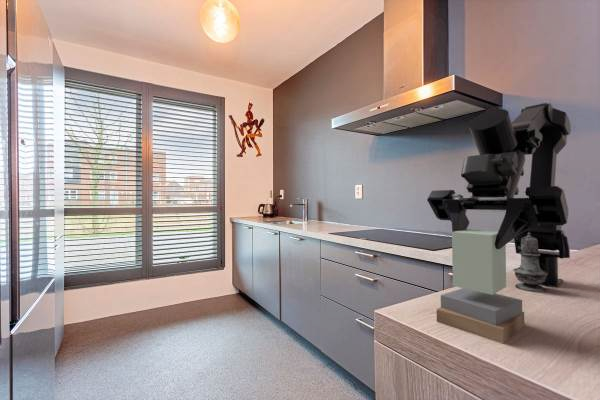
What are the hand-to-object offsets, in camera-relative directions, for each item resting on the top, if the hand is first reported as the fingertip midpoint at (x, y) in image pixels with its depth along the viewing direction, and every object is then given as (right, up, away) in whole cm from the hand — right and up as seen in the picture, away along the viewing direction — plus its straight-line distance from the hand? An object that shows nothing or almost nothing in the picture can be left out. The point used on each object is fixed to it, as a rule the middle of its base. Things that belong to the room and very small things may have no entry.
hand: (474, 245), depth 44 cm
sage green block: (+1, -7, +1) cm, 7 cm away
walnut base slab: (+1, -13, +1) cm, 13 cm away
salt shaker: (+23, -12, +18) cm, 31 cm away
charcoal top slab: (+1, -10, +1) cm, 11 cm away
